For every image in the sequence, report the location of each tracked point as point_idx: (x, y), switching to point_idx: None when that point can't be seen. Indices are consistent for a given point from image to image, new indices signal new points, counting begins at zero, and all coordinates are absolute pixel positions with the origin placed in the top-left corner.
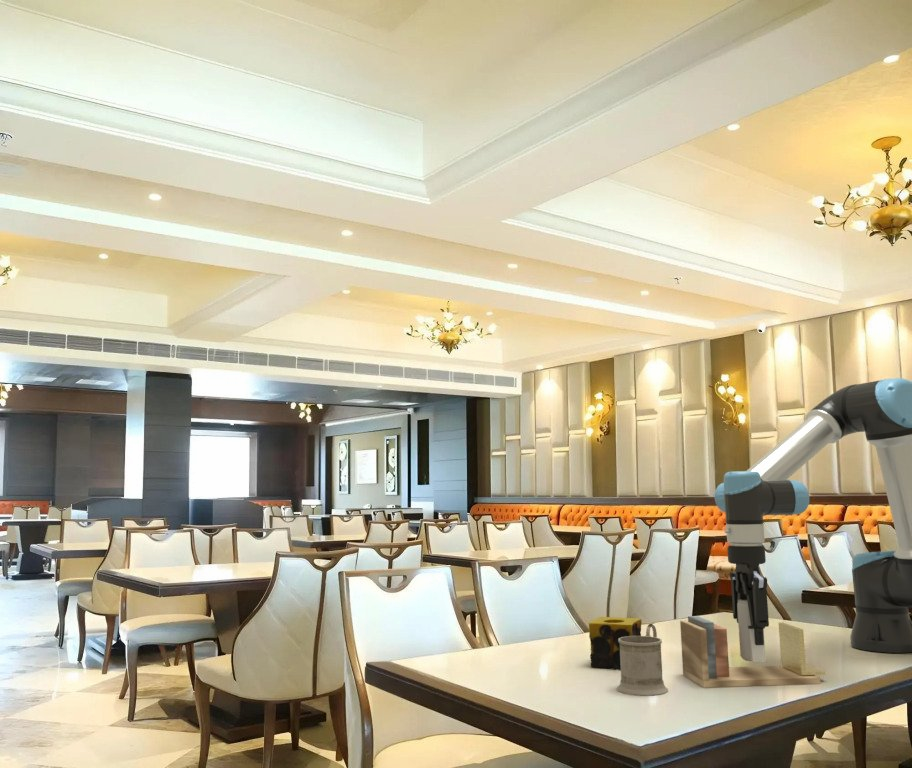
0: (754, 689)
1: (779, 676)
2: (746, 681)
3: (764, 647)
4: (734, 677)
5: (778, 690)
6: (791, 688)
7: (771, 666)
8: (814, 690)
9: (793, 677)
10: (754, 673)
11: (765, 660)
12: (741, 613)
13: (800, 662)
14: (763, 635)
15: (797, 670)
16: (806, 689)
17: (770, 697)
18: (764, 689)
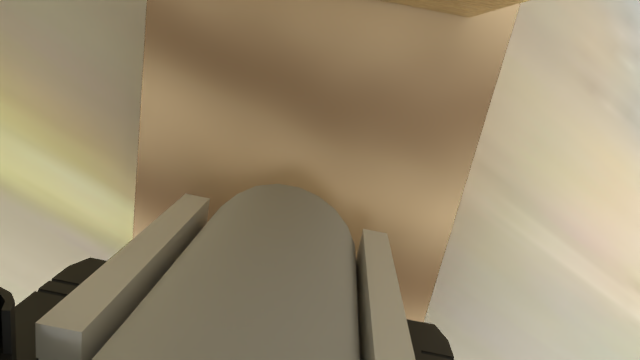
0: (476, 324)
1: (417, 146)
2: None
3: (397, 282)
4: None
5: (542, 244)
6: (538, 163)
7: (159, 15)
8: (632, 80)
9: (471, 87)
10: None
11: (386, 236)
12: None
13: (489, 8)
14: (408, 346)
15: (419, 5)
16: (593, 105)
17: (627, 348)
18: (496, 287)
